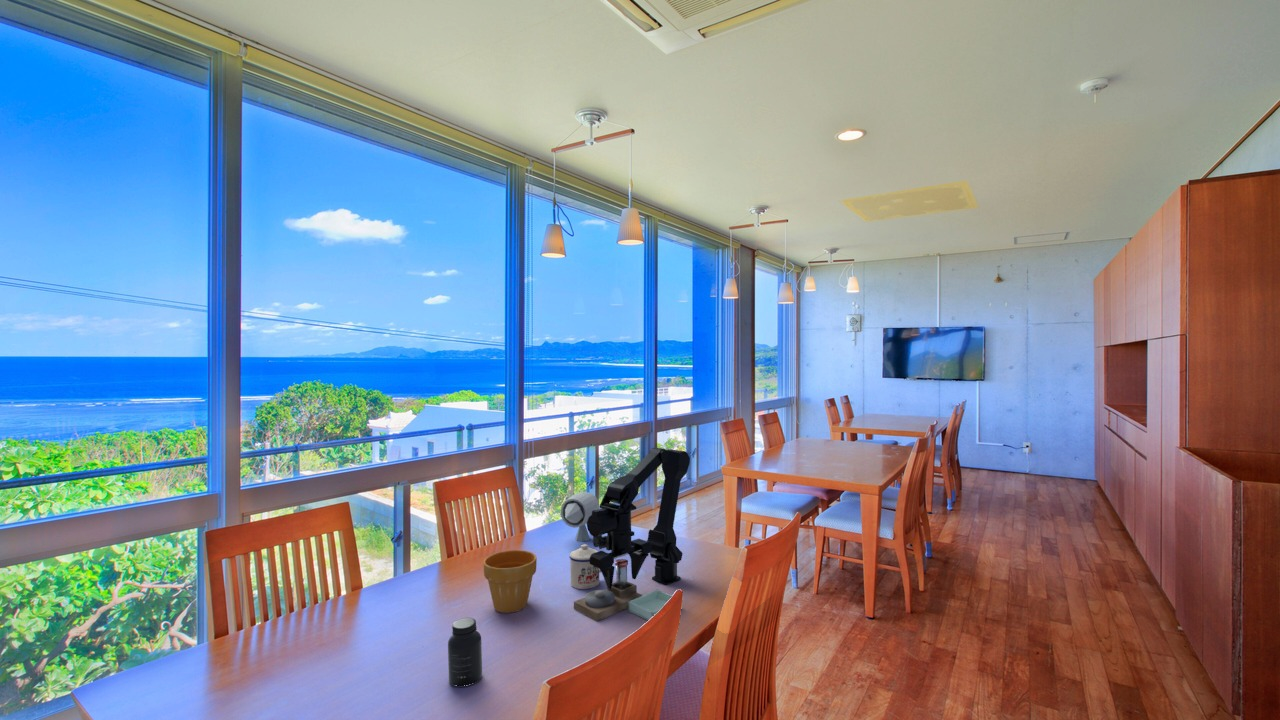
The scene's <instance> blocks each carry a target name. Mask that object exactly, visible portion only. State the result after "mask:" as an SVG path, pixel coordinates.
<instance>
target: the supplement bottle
mask: <svg viewBox="0 0 1280 720" xmlns="http://www.w3.org/2000/svg"><path fill="white" fill-rule="evenodd" d="M451 628H452V630H451V632H452V633H451V634H452V635H451V636H450V637H449V639H448V640H447V659H448V682H449V684H450V685H452V684H453V685H457V686H464V685H465V686H466V685H469V684H472V683H474V684H476V683H478V682H479V681H480V680H481V678H482V675H483V657H482V656H483V652H482V651H483V650H482V648H483V647H482V635H481V634H480V632H479V631H478V630H477V620H476V619H475V618H473V617H463V618H460V619H457V620H455V621H454V622H453V623H452V626H451ZM475 682H476V683H475ZM453 685H452V686H453ZM472 685H473V684H472ZM466 687H467V686H466Z"/></svg>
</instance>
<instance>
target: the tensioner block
mask: <svg viewBox="0 0 1280 720" xmlns="http://www.w3.org/2000/svg"><path fill="white" fill-rule="evenodd" d="M637 590H638V589H637V584H634V583H632V582H630V581H627V588H625V589H622V590H620V589H618V588H617V581H616V582H612V587H611V589H609V588H608V587H607V586H606V589H596V590H592V591H588V592H587V593H586V594H585V596H584V597H582V598H580V599H577V600H575V601H573V610H574V611H576V612H579V613H581V614H583V615H585V616H586V617H588V618H591V619H592V620H594V621H596V622H599V621H602V620H604V619H606V618H608V617H611V616H613V615H616V614H617V613H620V612H622V611H625V610H628V602H629V601H631V600H634V599H636V598H638V597H641V596H643V594H641V593H639V592H637Z"/></svg>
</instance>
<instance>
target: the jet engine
mask: <svg viewBox="0 0 1280 720" xmlns="http://www.w3.org/2000/svg"><path fill="white" fill-rule="evenodd" d="M599 506H600V503H599V500H598V498H597V496H596V495H595V494H593V493H592V492H588V491H585V492H583V491H581V492H577V493H576V494H573V495H571V496H570V497H569V498H567V499H566V500H565V501H564V502H563V503H562V504H561V507H560V516H561V520H562V522H564V524H565V525H566V526H568V527H570V528H573V529H574V528H578V530H577V532H576V536H575V541H576V542H581V543H583V542H588V541H590V540H591V536H590V533H589V531H588V529H587V521H588V518H589V517H590V516H591V515H592V511H593V510H599V509H600V507H599Z"/></svg>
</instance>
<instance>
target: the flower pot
mask: <svg viewBox="0 0 1280 720" xmlns="http://www.w3.org/2000/svg"><path fill="white" fill-rule="evenodd" d="M536 572H537V555H536V554H535V553H533V552H531V551H528V550H523V549H522V550H521V549H514V550H513V549H512V550H511V549H510V550H503V551H499V552H495V553H493V554H491V555H489V556H487V557H486V558H484V560H483V576H484V578H485V579H486V580H487V582H488V586H489V587H488V588H489V591H490V595H491V601H492V604H493V608H494V610H495V611H497V612H499V613H504V614H507V613H516V612H519V611H522V610H523V609H525V608H526V607H527V605H528V600H529V596H530V592H531V587H532V586H531V585H532V581H533V576H534V575H535V574H536Z"/></svg>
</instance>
